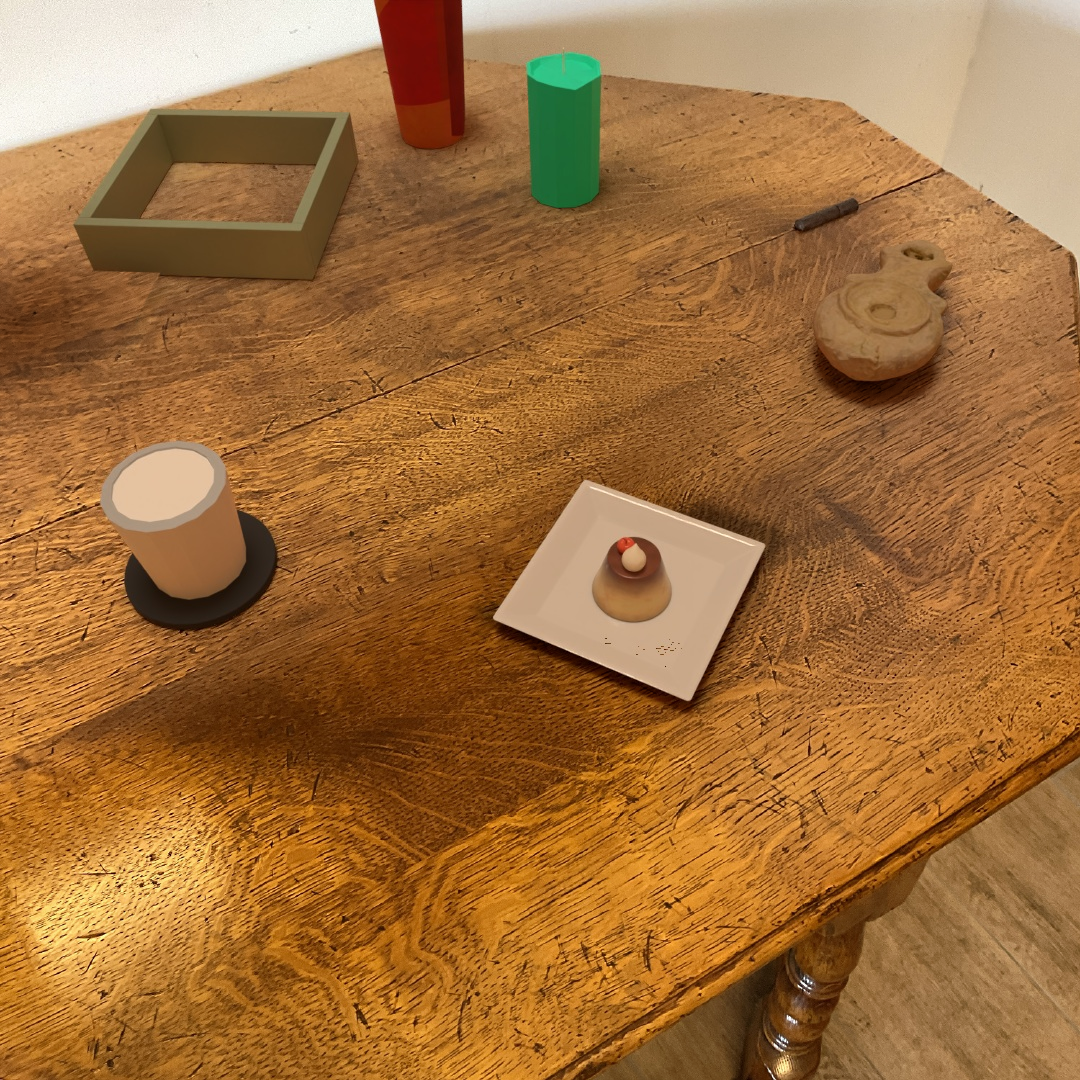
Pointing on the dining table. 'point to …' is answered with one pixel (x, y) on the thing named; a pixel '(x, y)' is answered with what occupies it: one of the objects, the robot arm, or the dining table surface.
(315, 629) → the dining table surface
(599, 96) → the candle
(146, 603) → the coaster
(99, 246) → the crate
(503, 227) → the dining table surface
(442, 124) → the coffee cup
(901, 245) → the oil lamp
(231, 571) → the beige tapered cylinder
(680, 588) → the dessert
